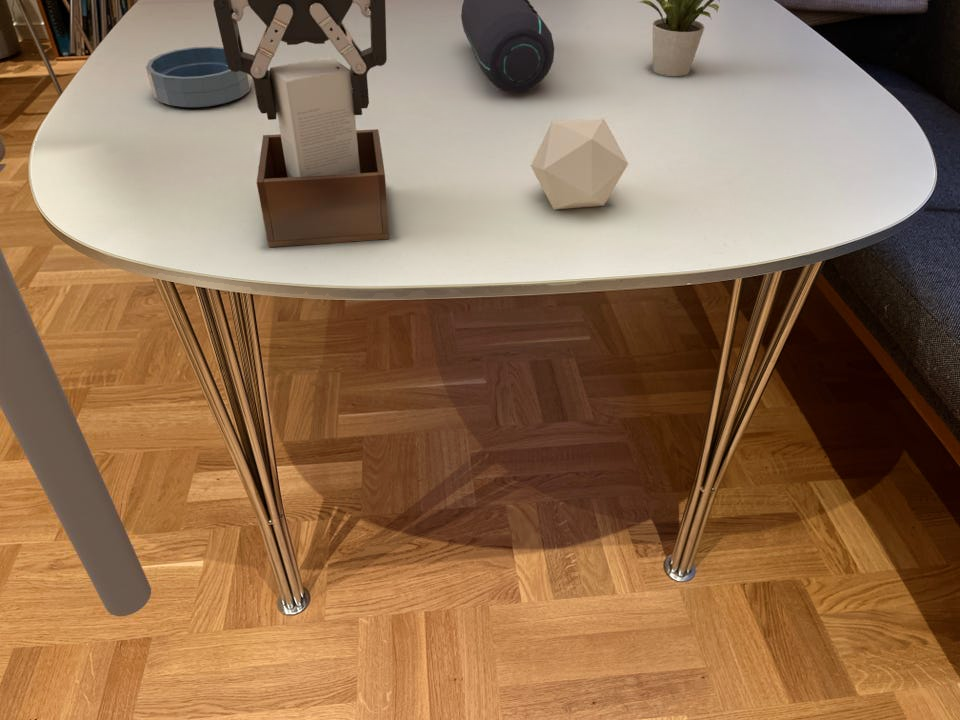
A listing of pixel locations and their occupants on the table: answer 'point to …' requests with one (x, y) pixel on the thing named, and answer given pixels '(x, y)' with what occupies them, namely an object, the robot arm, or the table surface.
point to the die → (578, 163)
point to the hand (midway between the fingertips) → (315, 114)
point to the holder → (323, 198)
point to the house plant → (677, 35)
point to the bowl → (195, 78)
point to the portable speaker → (508, 42)
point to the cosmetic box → (316, 117)
